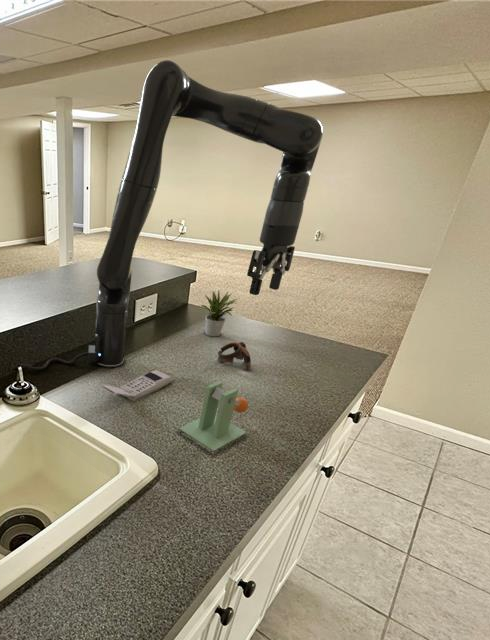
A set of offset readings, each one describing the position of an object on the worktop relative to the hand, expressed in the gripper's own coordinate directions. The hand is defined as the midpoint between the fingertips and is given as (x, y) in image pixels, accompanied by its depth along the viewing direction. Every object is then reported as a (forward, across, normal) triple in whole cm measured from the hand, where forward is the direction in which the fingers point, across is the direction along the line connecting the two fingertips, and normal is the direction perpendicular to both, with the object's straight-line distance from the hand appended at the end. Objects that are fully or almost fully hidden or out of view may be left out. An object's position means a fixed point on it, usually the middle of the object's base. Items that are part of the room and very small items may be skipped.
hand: (263, 291), depth 100 cm
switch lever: (+22, +20, +10) cm, 31 cm away
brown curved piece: (+28, -13, -11) cm, 33 cm away
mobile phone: (+28, +25, -14) cm, 40 cm away
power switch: (+28, +24, +10) cm, 38 cm away
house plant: (+28, -27, -30) cm, 49 cm away
